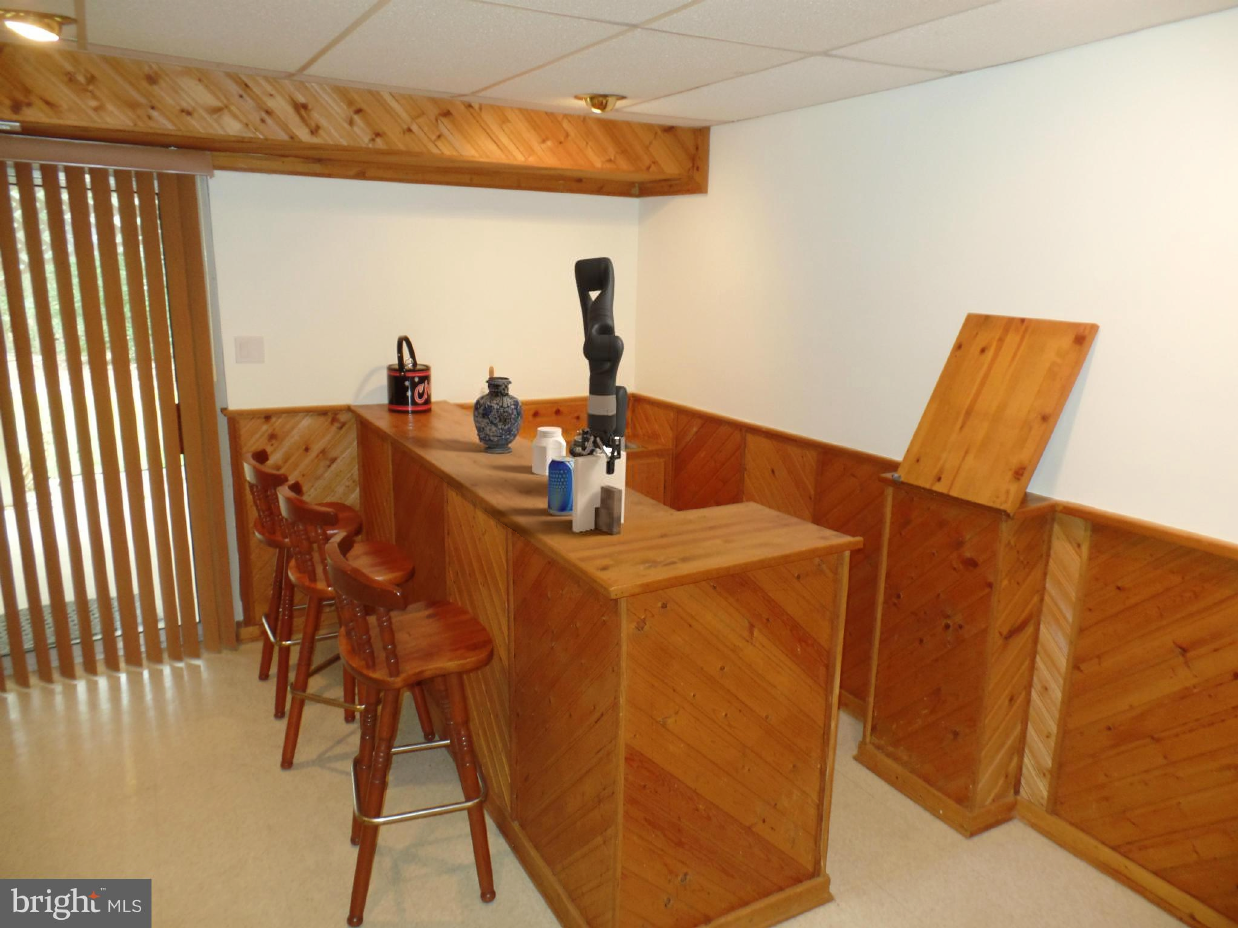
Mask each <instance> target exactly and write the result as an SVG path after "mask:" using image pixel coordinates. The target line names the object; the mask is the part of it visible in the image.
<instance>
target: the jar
mask: <svg viewBox="0 0 1238 928" xmlns="http://www.w3.org/2000/svg"><path fill="white" fill-rule="evenodd" d="M536 432H537V434H536V437H535V438H534V440H533V441H532V443H531V445H532V466H531V472H532V473H533V474H535V475H539V476H548V465H549V463H550V462H551V460H552V457H554V456H567V454H566V453H567V452H566V451H567V442H566V441H565V439H564V438H563V436H562V428H561V427H558V426H557V427H556V426H540V427H537V429H536Z"/></svg>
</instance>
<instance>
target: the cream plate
mask: <svg viewBox="0 0 1238 928" xmlns="http://www.w3.org/2000/svg"><path fill="white" fill-rule="evenodd" d="M609 455H610V456H611V454H610V453H609ZM615 455H617V452H615ZM606 461H607V459H606V456H605V454H596V455H589V456H582V457H574V485H573V514H572V532H574V533H581V532H580V531H582V532H586V530H587V531H591V530H590V529H592V530H595V527H594V519H595V507H600V492H601V486H605V485H610V486H612V487H615V488H618V489H621V490H622V511H621V523H622V524H624V523H625V498H626V497H625V494H626V493H625V491H626V467H627V465H626V464H627V463H626V462H627V452H626V451H625V452H623V451H621V458H620V459H617V460H615V471H614V474H611V475H608V474H606Z"/></svg>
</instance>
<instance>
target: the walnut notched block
mask: <svg viewBox="0 0 1238 928" xmlns="http://www.w3.org/2000/svg"><path fill="white" fill-rule="evenodd" d="M621 511H622V490H621V489H618V488H615V487H612V486H610V485H605V486H601V492H600V507H595V519H594V529H597V528H598V529H597V530H600V529H601V530H600V531H602V530H603V531H602V532H605V531H606V532H605V533H607V532H609V533H608V534H610V535H612V534H613V535H612V536H615V535H614V534H616V535H620V534H619V533H621V534H622V532H621V531H622V524H621Z"/></svg>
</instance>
